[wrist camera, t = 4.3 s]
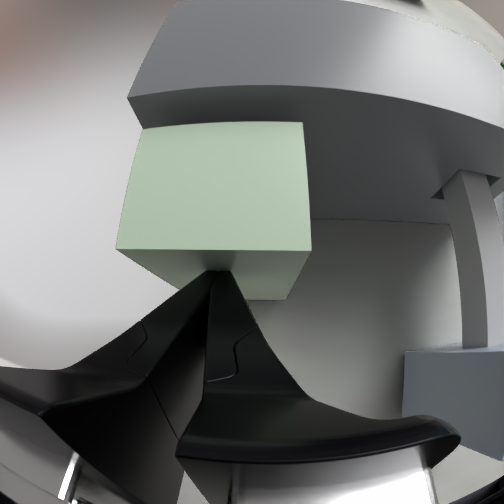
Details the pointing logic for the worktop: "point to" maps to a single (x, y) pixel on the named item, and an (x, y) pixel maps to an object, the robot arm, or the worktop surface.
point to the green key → (220, 204)
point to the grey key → (468, 328)
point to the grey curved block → (336, 96)
